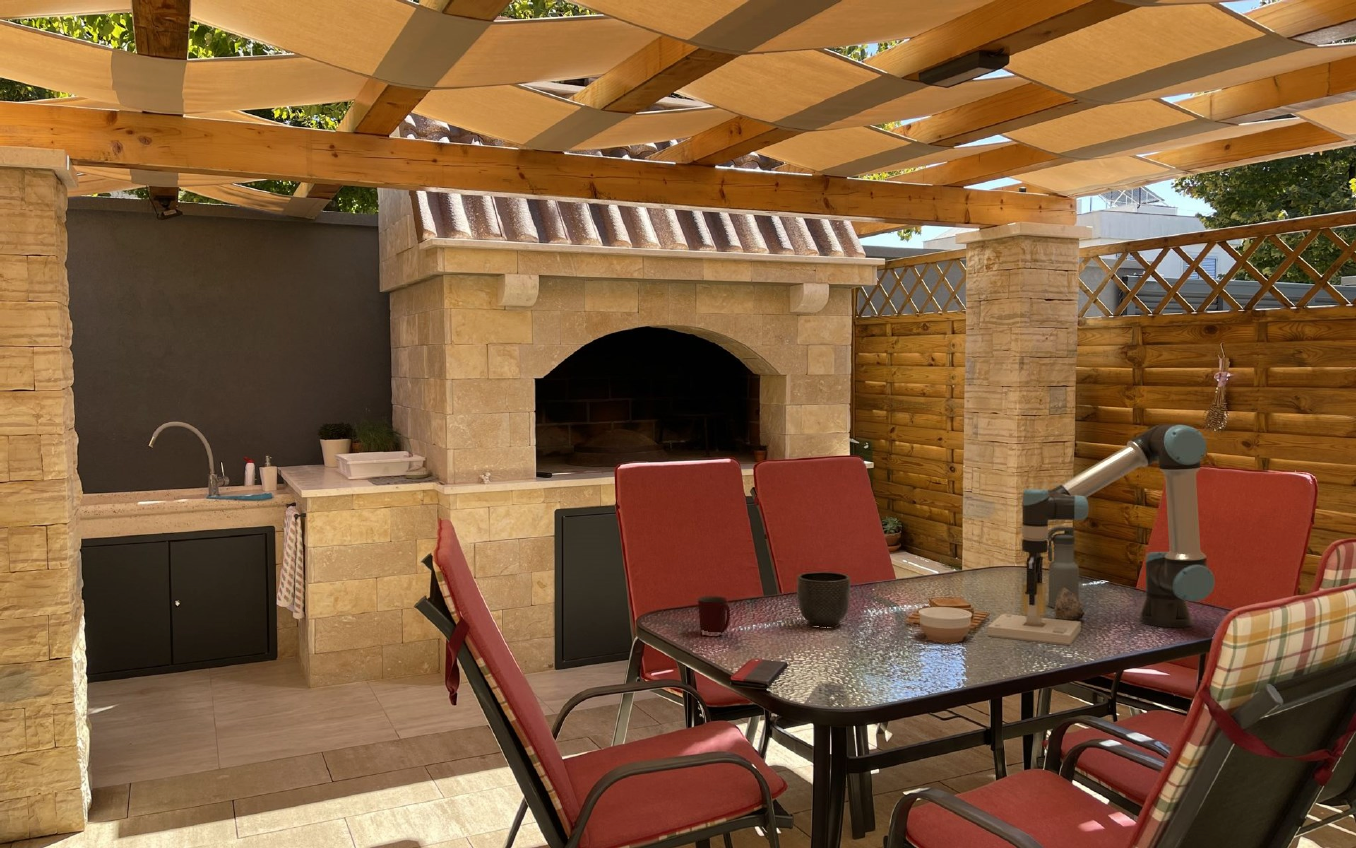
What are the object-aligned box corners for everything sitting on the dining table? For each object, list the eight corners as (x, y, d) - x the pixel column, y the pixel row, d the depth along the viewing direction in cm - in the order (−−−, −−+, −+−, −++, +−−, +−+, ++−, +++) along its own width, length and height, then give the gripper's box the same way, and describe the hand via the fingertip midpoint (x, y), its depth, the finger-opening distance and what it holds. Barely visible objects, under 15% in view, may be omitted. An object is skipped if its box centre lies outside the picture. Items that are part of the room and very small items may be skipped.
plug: (1045, 621, 319) (1045, 579, 318) (1042, 624, 314) (1042, 582, 314) (1025, 619, 322) (1025, 577, 321) (1022, 622, 317) (1022, 580, 317)
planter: (809, 617, 344) (809, 570, 343) (858, 623, 335) (858, 574, 334) (788, 627, 329) (788, 578, 328) (838, 634, 320) (838, 583, 320)
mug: (739, 636, 319) (739, 601, 318) (718, 640, 313) (718, 605, 313) (713, 629, 328) (713, 595, 328) (692, 633, 322) (692, 599, 322)
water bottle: (1049, 609, 352) (1049, 528, 351) (1045, 603, 362) (1046, 524, 361) (1080, 610, 350) (1080, 529, 349) (1076, 604, 359) (1076, 525, 358)
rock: (1057, 630, 334) (1076, 610, 329) (1036, 603, 341) (1054, 583, 336) (1074, 630, 339) (1093, 610, 334) (1053, 603, 346) (1071, 583, 341)
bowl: (908, 634, 319) (908, 609, 318) (951, 630, 324) (951, 605, 324) (938, 646, 304) (938, 620, 304) (983, 641, 309) (983, 615, 309)
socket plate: (1080, 631, 321) (1080, 619, 321) (1069, 645, 303) (1069, 633, 303) (1002, 623, 333) (1002, 611, 333) (987, 636, 316) (987, 624, 315)
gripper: (1028, 534, 327) (1027, 606, 328) (1016, 542, 311) (1015, 617, 312) (1052, 536, 323) (1052, 609, 324) (1041, 543, 307) (1041, 620, 308)
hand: (1034, 613), depth 318 cm, fingers closed on plug, 5 cm apart
